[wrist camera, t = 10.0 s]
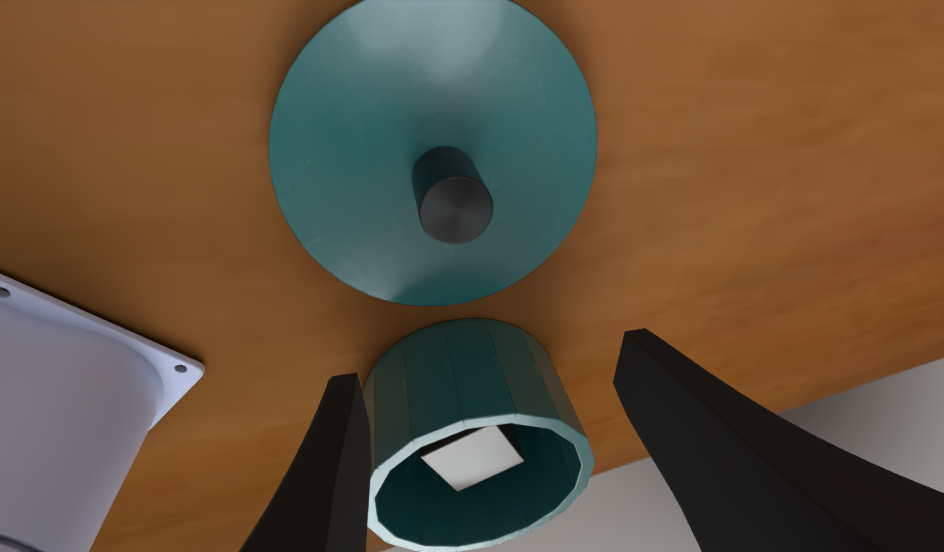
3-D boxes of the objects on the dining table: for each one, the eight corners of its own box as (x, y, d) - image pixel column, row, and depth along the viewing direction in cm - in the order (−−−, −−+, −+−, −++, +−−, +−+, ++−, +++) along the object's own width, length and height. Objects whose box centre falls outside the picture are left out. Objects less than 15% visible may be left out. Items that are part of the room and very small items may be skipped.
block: (412, 392, 25) (419, 457, 22) (477, 360, 25) (494, 422, 21) (446, 428, 27) (457, 492, 24) (505, 400, 27) (525, 461, 24)
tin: (320, 407, 25) (307, 520, 20) (465, 282, 22) (494, 375, 17) (456, 469, 31) (473, 568, 26) (584, 377, 28) (633, 468, 23)
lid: (202, 173, 17) (157, 224, 13) (442, -124, 13) (467, -161, 10) (439, 333, 23) (451, 394, 20) (638, 163, 20) (695, 202, 17)
